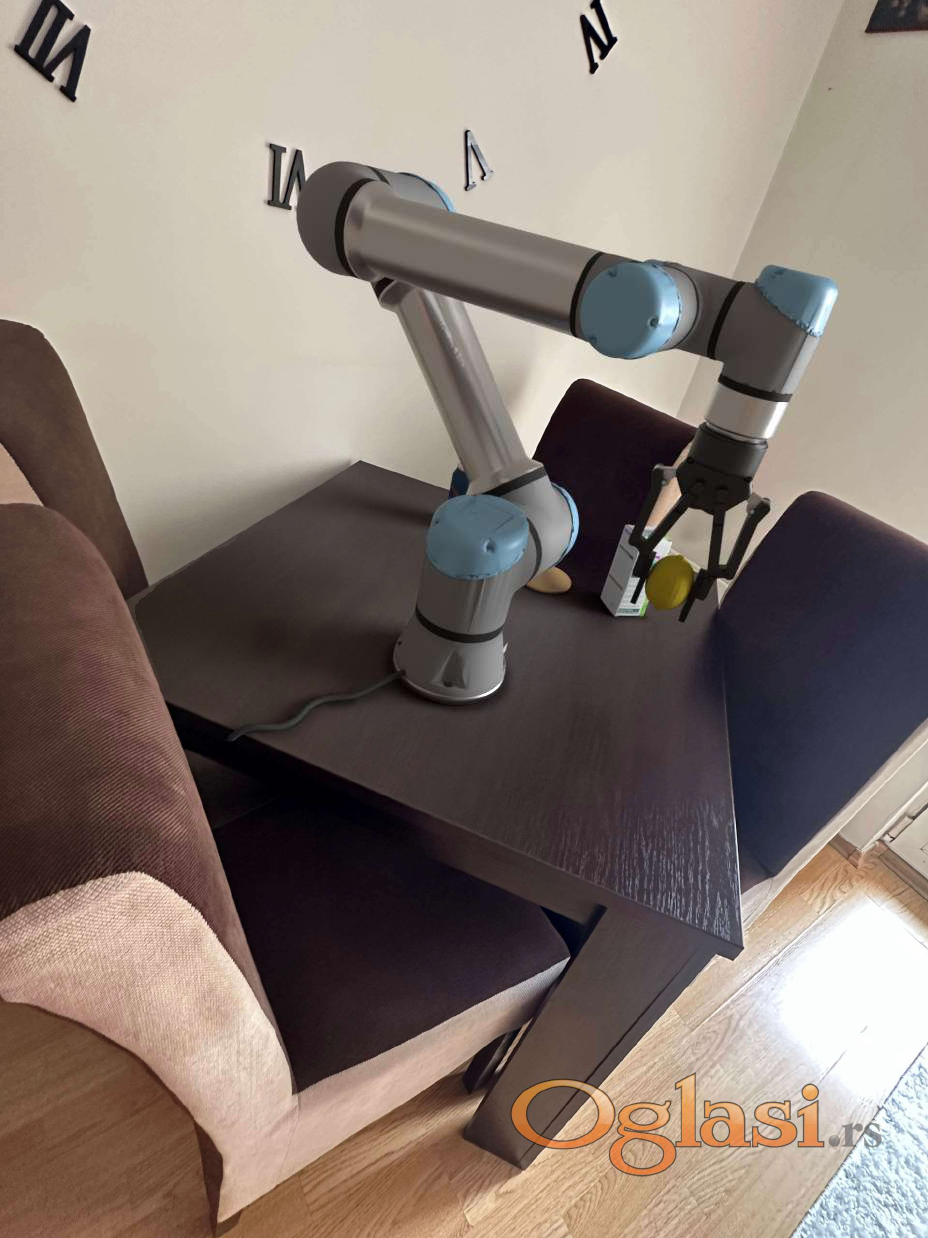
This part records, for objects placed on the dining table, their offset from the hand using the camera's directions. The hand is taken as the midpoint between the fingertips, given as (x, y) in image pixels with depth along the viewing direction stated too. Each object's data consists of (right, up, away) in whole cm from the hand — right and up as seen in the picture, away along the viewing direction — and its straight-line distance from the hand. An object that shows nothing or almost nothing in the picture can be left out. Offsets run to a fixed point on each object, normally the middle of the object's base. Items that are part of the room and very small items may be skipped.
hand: (658, 607), depth 83 cm
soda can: (-25, +16, +43) cm, 53 cm away
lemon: (0, 0, 0) cm, 1 cm away
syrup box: (+2, 0, +29) cm, 29 cm away
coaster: (-11, +6, +32) cm, 34 cm away
